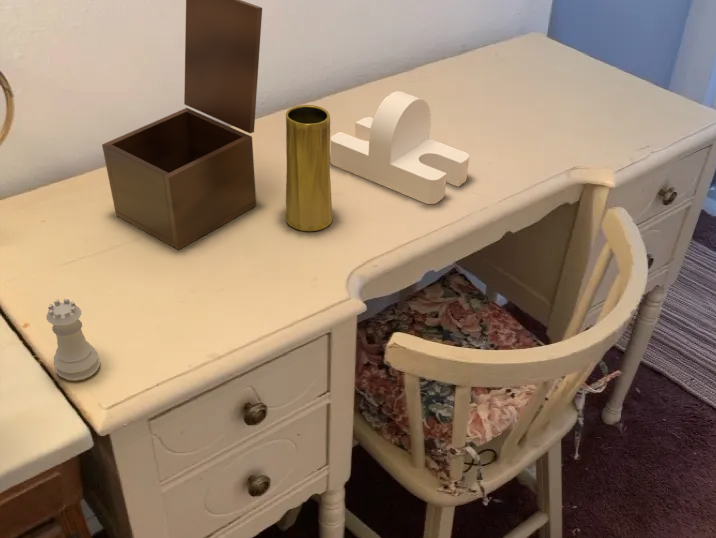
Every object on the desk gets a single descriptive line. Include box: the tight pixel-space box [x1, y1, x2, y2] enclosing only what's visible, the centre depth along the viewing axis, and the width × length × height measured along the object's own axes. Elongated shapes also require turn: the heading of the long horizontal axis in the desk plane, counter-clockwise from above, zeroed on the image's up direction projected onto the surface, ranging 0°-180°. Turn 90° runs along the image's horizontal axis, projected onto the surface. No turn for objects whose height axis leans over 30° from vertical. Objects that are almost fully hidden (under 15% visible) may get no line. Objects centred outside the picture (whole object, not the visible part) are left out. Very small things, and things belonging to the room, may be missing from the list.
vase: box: [284, 104, 334, 232], centre depth 103 cm, size 6×6×14 cm
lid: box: [183, 0, 263, 134], centre depth 101 cm, size 14×12×1 cm
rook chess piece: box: [45, 298, 101, 382], centre depth 83 cm, size 4×4×8 cm
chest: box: [101, 107, 257, 250], centre depth 105 cm, size 14×12×10 cm
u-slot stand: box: [330, 90, 470, 205], centre depth 114 cm, size 10×18×11 cm, turn 54°
